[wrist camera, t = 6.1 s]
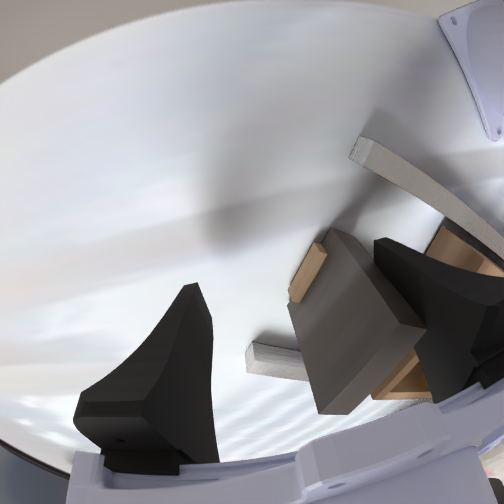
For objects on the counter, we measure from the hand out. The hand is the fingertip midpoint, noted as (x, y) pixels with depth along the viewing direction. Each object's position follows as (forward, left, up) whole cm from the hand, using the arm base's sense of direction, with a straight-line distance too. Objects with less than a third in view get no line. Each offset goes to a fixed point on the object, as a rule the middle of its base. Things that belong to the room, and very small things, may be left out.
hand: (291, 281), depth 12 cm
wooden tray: (-5, +9, -2) cm, 11 cm away
